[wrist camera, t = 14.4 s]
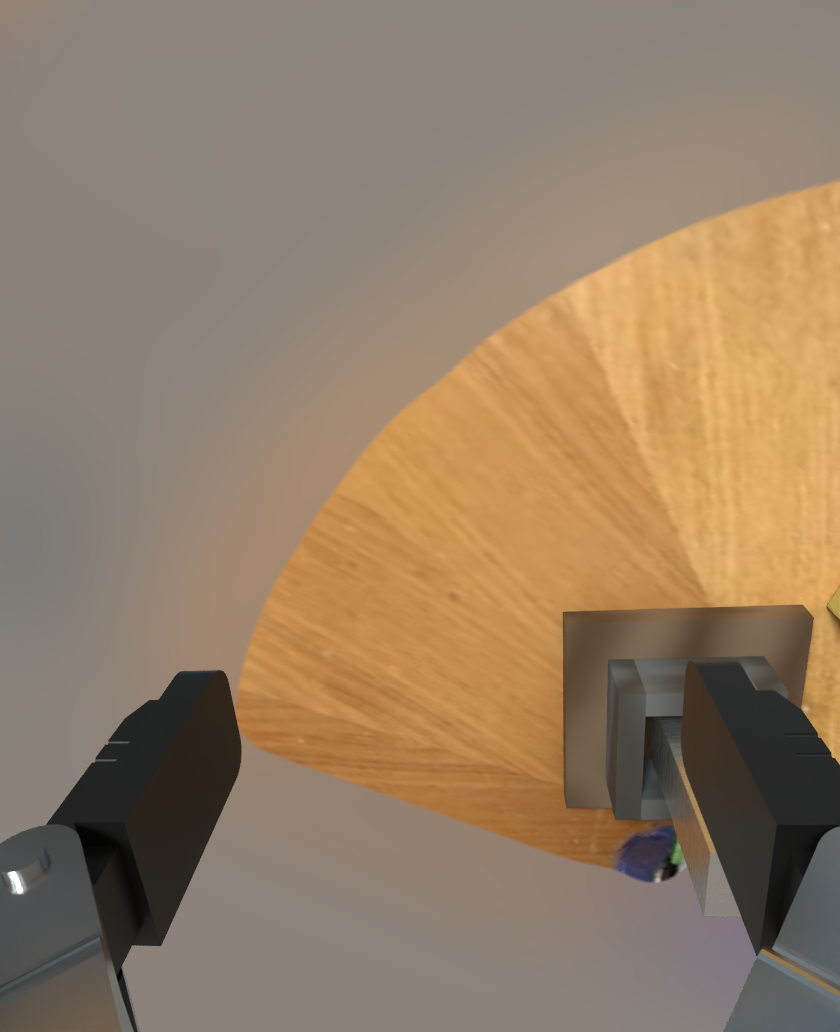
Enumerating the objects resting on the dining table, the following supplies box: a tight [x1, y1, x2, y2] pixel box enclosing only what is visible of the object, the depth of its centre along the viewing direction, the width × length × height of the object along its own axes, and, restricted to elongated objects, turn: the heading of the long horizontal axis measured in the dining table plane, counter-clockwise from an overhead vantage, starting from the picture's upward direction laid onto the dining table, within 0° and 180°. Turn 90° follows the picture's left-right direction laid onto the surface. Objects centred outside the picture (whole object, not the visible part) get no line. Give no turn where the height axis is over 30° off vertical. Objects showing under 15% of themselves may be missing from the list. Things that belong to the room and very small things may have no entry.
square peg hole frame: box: [563, 605, 814, 820], centre depth 42 cm, size 14×14×5 cm
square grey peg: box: [647, 716, 741, 917], centre depth 38 cm, size 4×4×12 cm
